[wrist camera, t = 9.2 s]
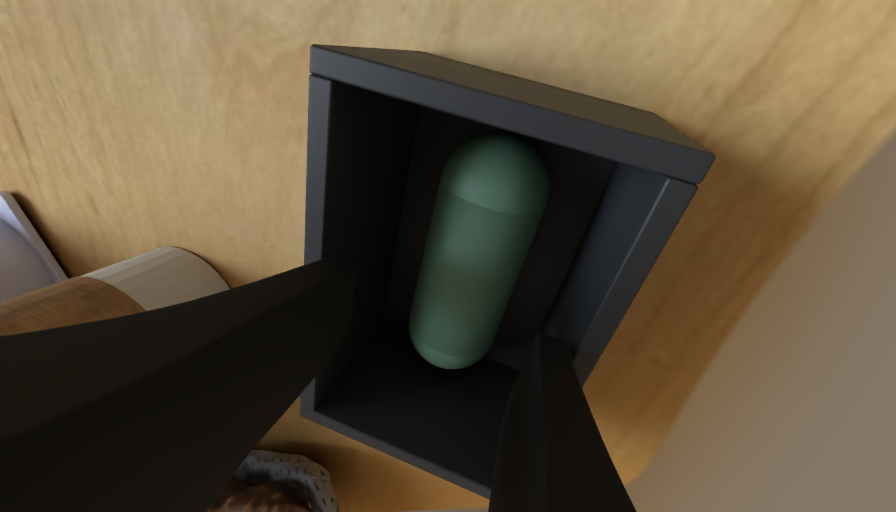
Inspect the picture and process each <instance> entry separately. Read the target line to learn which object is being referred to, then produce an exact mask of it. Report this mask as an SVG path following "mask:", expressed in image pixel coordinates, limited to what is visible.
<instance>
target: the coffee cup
mask: <svg viewBox="0 0 896 512" xmlns="http://www.w3.org/2000/svg"><path fill="white" fill-rule="evenodd" d="M229 289H230V288H229V287H228V285H227V283H226V282H225V281H224V280H223V278H222V277H221V276H220V275H219V274H218V273H217V272H216V271H215V270H214V269H213V268H212V267H211V266H210V265H209V264H208V263H206V262H205V261H204V260H202V259H201V258H200V257H198V256H196V255H194V254H193V253H191V252H188V251H186V250H183V249H181V248H175V247H160V248H157V249H154V250H151V251H148V252H145V253H143V254H140V255H137V256H134V257H132V258H129V259H126V260H123V261H121V262H118V263H115V264H112V265H110V266H107V267H104V268H101V269H99V270H96V271H93V272H90V273H87V274H85V275H82V276H76V277H73V278H70V279H67V280H64V281H61V282H58V283H55V284H52V285H49V286H46V287H43V288H40V289H37V290H34V291H31V292H29V293H26V294H23V295H20V296H17V297H14V298H11V299H8V300H5V301H2V302H0V336H4V335H12V334H20V333H27V332H34V331H40V330H46V329H52V328H58V327H64V326H70V325H76V324H82V323H88V322H94V321H100V320H106V319H111V318H116V317H121V316H126V315H131V314H135V313H140V312H145V311H149V310H154V309H158V308H163V307H167V306H171V305H175V304H179V303H183V302H187V301H191V300H195V299H198V298H201V297H205V296H208V295H212V294H215V293H219V292H222V291H226V290H229Z"/></svg>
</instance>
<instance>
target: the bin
mask: <svg viewBox="0 0 896 512" xmlns="http://www.w3.org/2000/svg"><path fill="white" fill-rule="evenodd" d="M310 73H312V74H311V75H310V76H309V105H308V141H307V177H306V213H305V249H304V265H306V264H309V263H312V262H315V261H319V260H322V259H325V258H328V257H332V256H335V255H336V256H338V257H341V258H344V259H346V260H349V261H352V262H354V263H357V264H358V271H357V279H356V287H355V295H354V303H353V311H352V319H351V327H350V330H349V331H348V333H347V335H346V336H345V338H344V339H343V341H342V342H341V344H340V345H339V347H338V348H337V350H336V351H335V353H334V354H333V356H332V357H331V358H330V360H329V361H328V363H327V364H326V365H325V366H324V368H323V369H322V370H321V371H320V372H319V373H318V375H317V376H316V377H315V378H314V379H313V380H312V382H311V383H310V384H309V385H308V386H307V387H306V389H305V390H304V391H303V392H302V393H301V394H300V405H301V406H300V415H301V416H303V417H305V418H307V419H309V420H312V421H314V422H316V423H318V424H321V425H323V426H325V427H327V428H330V429H332V430H334V431H336V432H339V433H341V434H343V435H345V436H348V437H350V438H352V439H354V440H357V441H359V442H361V443H363V444H366V445H368V446H370V447H372V448H375V449H377V450H379V451H381V452H384V453H386V454H388V455H390V456H393V457H395V458H397V459H400V460H402V461H404V462H406V463H409V464H411V465H413V466H415V467H418V468H420V469H422V470H424V471H427V472H429V473H431V474H433V475H436V476H438V477H440V478H442V479H445V480H447V481H449V482H451V483H454V484H456V485H458V486H460V487H463V488H465V489H467V490H469V491H472V492H474V493H476V494H478V495H481V496H483V497H485V498H487V499H490V496H491V489H492V482H493V474H494V467H495V460H496V453H497V446H498V439H499V434H500V430H501V425H502V421H503V417H504V413H505V410H506V406H507V402H508V398H509V394H510V392H511V389H512V387H513V385H514V383H515V381H516V378H517V376H518V374H519V372H520V370H521V368H522V365H523V363H524V361H525V359H526V357H527V355H528V352H529V350H530V348H531V346H532V344H533V342H534V339H535V337H536V335H537V333H538V332H541V333H544V334H546V335H549V336H552V337H554V338H557V339H560V340H562V341H565V342H566V344H567V346H568V349H569V352H570V355H571V358H572V361H573V364H574V367H575V370H576V372H577V375H578V378H579V381H580V384H581V387H582V388H583V386H584V384H585V383H586V381H587V379H588V377H589V376H590V374H591V372H592V371H593V369H594V367H595V365H596V364H597V362H598V360H599V359H600V357H601V355H602V353H603V352H604V350H605V348H606V346H607V345H608V343H609V341H610V340H611V338H612V336H613V334H614V333H615V331H616V329H617V327H618V326H619V324H620V322H621V321H622V319H623V317H624V315H625V314H626V312H627V310H628V308H629V307H630V305H631V303H632V302H633V300H634V298H635V296H636V295H637V293H638V291H639V289H640V288H641V286H642V284H643V283H644V281H645V279H646V277H647V276H648V274H649V272H650V270H651V269H652V267H653V265H654V264H655V262H656V260H657V258H658V257H659V255H660V253H661V252H662V250H663V248H664V246H665V245H666V243H667V241H668V239H669V238H670V236H671V234H672V233H673V231H674V229H675V227H676V226H677V224H678V222H679V220H680V219H681V217H682V215H683V214H684V212H685V210H686V208H687V207H688V205H689V203H690V201H691V200H692V198H693V196H694V195H695V193H696V191H697V189H698V186H697V185H696V184H700V183H701V182H702V181H703V179H704V177H705V176H706V174H707V172H708V170H709V169H710V167H711V165H712V164H713V162H714V160H715V157H716V155H715V154H713V153H712V152H710V151H709V150H708V149H706V148H705V147H703V146H702V145H700V144H699V143H697V142H696V141H694V140H693V139H691V138H690V137H688V136H687V135H685V134H684V133H682V132H681V131H680V130H678V129H677V128H675V127H674V126H672V125H671V124H669V123H668V122H666V121H665V120H663V119H662V118H660V117H659V116H657V115H656V114H655V113H652V112H649V111H645V110H641V109H637V108H633V107H630V106H626V105H622V104H618V103H615V102H611V101H607V100H603V99H599V98H596V97H592V96H588V95H584V94H580V93H577V92H573V91H569V90H565V89H561V88H558V87H554V86H550V85H546V84H543V83H539V82H535V81H531V80H527V79H524V78H520V77H516V76H512V75H508V74H505V73H501V72H497V71H493V70H489V69H486V68H482V67H478V66H474V65H471V64H467V63H463V62H459V61H455V60H452V59H448V58H444V57H440V56H436V55H433V54H429V53H425V52H421V51H410V50H395V49H379V48H364V47H348V46H333V45H317V44H313V45H311V47H310ZM486 133H506V134H510V135H513V136H516V137H518V138H520V139H522V140H523V141H525V142H527V143H528V144H529V145H530V146H531V147H532V148H533V149H534V150H535V151H536V152H537V153H538V154H539V156H540V158H541V159H542V161H543V162H544V165H545V167H546V170H547V174H548V181H549V196H548V200H547V203H546V207H545V209H544V212H543V214H542V217H541V220H540V222H539V225H538V227H537V230H536V233H535V235H534V238H533V240H532V243H531V245H530V248H529V251H528V253H527V256H526V258H525V261H524V264H523V266H522V269H521V271H520V274H519V276H518V279H517V282H516V284H515V287H514V289H513V292H512V295H511V297H510V300H509V302H508V305H507V307H506V310H505V313H504V315H503V318H502V320H501V323H500V326H499V328H498V331H497V333H496V336H495V338H494V341H493V343H492V345H491V347H490V349H489V351H488V352H487V353H486V354H485V355H484V356H483V357H482V358H481V359H480V360H479V361H477V362H476V363H474V364H472V365H470V366H468V367H465V368H460V369H444V368H440V367H437V366H435V365H433V364H431V363H429V362H428V361H427V360H425V359H424V358H423V357H422V356H421V355H420V354H419V353H418V351H417V350H416V349H415V347H414V345H413V342H412V340H411V337H410V332H409V316H410V311H411V307H412V302H413V298H414V293H415V289H416V285H417V280H418V276H419V271H420V267H421V262H422V258H423V253H424V249H425V244H426V240H427V236H428V231H429V227H430V222H431V218H432V213H433V209H434V204H435V200H436V196H437V191H438V187H439V182H440V178H441V174H442V171H443V168H444V166H445V164H446V162H447V160H448V159H449V157H450V156H451V154H452V153H453V152H454V151H455V150H456V149H457V148H458V147H459V146H460V145H461V144H463V143H464V142H465V141H467V140H469V139H471V138H473V137H476V136H478V135H481V134H486Z"/></svg>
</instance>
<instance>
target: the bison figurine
mask: <svg viewBox="0 0 896 512" xmlns="http://www.w3.org/2000/svg"><path fill="white" fill-rule="evenodd" d="M207 512H340V508H339V504H338V500H337V497H336V494H335V489H334V486H333V483H332V479H331V477H330V474H329V472H328V471H327V470H326V469H325V468H323V467H322V466H321V465H320V464H317V463H314V462H313V461H311V460H310V459H308V458H307V457H305V456H303V455H295V454H286V453H278V452H273V451H263V450H254V451H251V452H250V454H249V455H248V456H247V457H246V459H245V460H244V461H243V463H242V464H241V465H240V467H239V468H238V470H237V471H236V472H235V474H234V475H233V476H232V478H231V479H230V481H229V482H228V483H227V485H226V486H225V487H224V489H223V490H222V492H221V493H220V494H219V496H218V497H217V499H216V500H215V501H214V503H213V504H212V505H211V507H210V508H209V510H208V511H207Z"/></svg>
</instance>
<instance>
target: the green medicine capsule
mask: <svg viewBox="0 0 896 512" xmlns="http://www.w3.org/2000/svg"><path fill="white" fill-rule="evenodd" d="M548 196H549V181H548V174H547V170H546V167H545V165H544V162H543V161H542V159H541V158H540V156H539V154H538V153H537V152H536V151H535V150H534V149H533V148H532V147H531V146H530V145H529V144H528V143H527V142H525V141H523V140H522V139H520V138H518V137H516V136H513V135H510V134H506V133H486V134H481V135H478V136H476V137H473V138H471V139H469V140H467V141H465V142H464V143H463V144H461V145H460V146H459V147H458V148H457V149H456V150H455V151H454V152H453V153H452V154H451V156H450V157H449V159H448V160H447V162H446V164H445V166H444V168H443V171H442V174H441V178H440V182H439V187H438V191H437V196H436V200H435V204H434V209H433V213H432V218H431V222H430V227H429V231H428V236H427V240H426V244H425V249H424V253H423V258H422V262H421V267H420V271H419V276H418V280H417V285H416V289H415V293H414V298H413V302H412V307H411V311H410V316H409V332H410V337H411V340H412V342H413V345H414V347H415V349H416V350H417V351H418V353H419V354H420V355H421V356H422V357H423V358H424V359H425V360H427V361H428V362H429V363H431V364H433V365H435V366H437V367H440V368H444V369H460V368H465V367H468V366H470V365H472V364H474V363H476V362H477V361H479V360H480V359H481V358H482V357H483V356H484V355H485V354H486V353H487V352H488V351H489V349H490V347H491V345H492V343H493V341H494V338H495V336H496V333H497V331H498V328H499V326H500V323H501V320H502V318H503V315H504V313H505V310H506V307H507V305H508V302H509V300H510V297H511V295H512V292H513V289H514V287H515V284H516V282H517V279H518V276H519V274H520V271H521V269H522V266H523V264H524V261H525V258H526V256H527V253H528V251H529V248H530V245H531V243H532V240H533V238H534V235H535V233H536V230H537V227H538V225H539V222H540V220H541V217H542V214H543V212H544V209H545V207H546V203H547V200H548Z"/></svg>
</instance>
